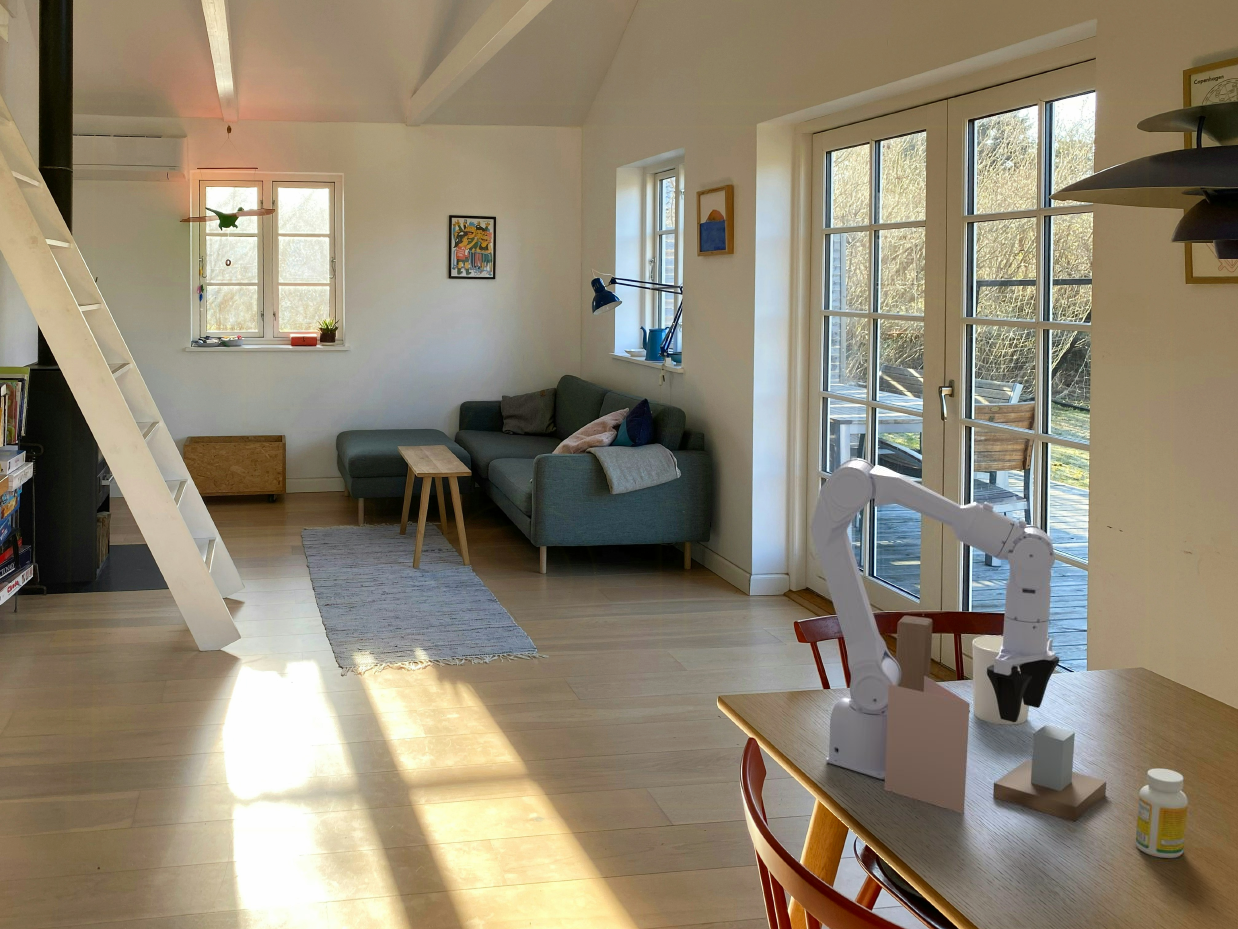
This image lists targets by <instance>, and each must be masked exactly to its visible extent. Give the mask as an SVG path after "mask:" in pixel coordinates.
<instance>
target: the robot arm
mask: <svg viewBox="0 0 1238 929" xmlns="http://www.w3.org/2000/svg"><path fill="white" fill-rule="evenodd" d="M872 499H874V502H873V507H875V508H877V507H883V506H889V505H891V506H892V505H899V506H902V507H904V508H906V509H909V510H912V511H914V512H915V513H918V514H920V515H922V516H925V517H928V518H929V519H932V520H934V521H937V522H939V523H942V524H944V525H946V526H949V527H951V529H952V531H953V534H954V538H955V539H956V540H957V541H958V542H961V543H962V544H963V543H964V544H965V545H968V546H969V547H971V548H974V549H976V550H978V551H980V552H982V553H983V554H984V553H985V554H986V555H988V556H990V557H993V558H996V559H997V560H999V561H1000V560H1001V561H1002V560H1003V561H1007V562H1008V564H1009V575H1008V576H1009V577H1008V579H1007V581H1006V587H1005V603H1004V617H1003V618H1004V621H1003V633H1002V636H1003V644H1002V645H1001V648H1000V652H999V655H998V657H996V658H995V663H994V665H991V666H989V667H987V676H988V677H989V679H990V681H991V683H992V685H993V688H994V691H995V694H996V698H997V703H998V709H999V714H1000V718H1001V719H1003V720H1007V721H1011V722H1016V721H1017V720H1018V717H1019V713H1020V708H1021V703H1022V698H1023V702H1024V705H1028V706H1029V707H1033V708H1036V709H1039V708H1041V704H1042V702H1043V700H1044V698H1045V697H1044V696H1045V692H1046V689H1047V687H1048V683H1049V681H1050V678H1051V676H1052V674H1053V673H1054V672H1055V669H1056V668H1057V667H1058V665H1059V664H1060V657H1059V656H1056V652H1054V651H1053V642H1054V641H1053V638H1051V637H1048V636H1049V623H1050V609H1051V594H1052V586H1051V583H1050V582H1051V580H1052V571H1051V570H1052V568H1053V567H1054V565H1055V561H1056V557H1055V552H1054V545H1053V541H1052V539H1051V538H1050V536H1049V534H1047V533H1046V531H1044V530H1042V529H1041V528H1040V527H1039V526H1037V525H1034V524H1027V523H1028V522H1027V521H1025V520H1023V519H1021V518H1020V519H1019V520H1018V521H1017V520H1015V519H1013V518H1010V517H1009V516H1007V515H1004V514H1002V513H999V512H998V511H996V510H993V509H994V505H993V504H991V503H990V502H987V501H984V503H983V504H981V503H978V502H977V501H974V502H971V503H968V504H964V505H962V504H959V503H957V502H956V501H953V500H951V499H949V498H947V497H945V496H944V495H941V494H939V493H937V492H936V491H933V490H931V489H929V488H928V487H925V485H922V484H920V483H918V482H916V481H914V480H912V479H910V478H909V477H907V476H904V475H902V474H901V473H898V472H896V471H894V470H892V469H890V468H887V467H885V466H882V465H878V464H876V465H873V464H872V463H871V462H870V461H868V460H865V459H863V458H851V459H847V460H846V461H844V462H843V463H841V465H839V466H838V468H837V469H835V471H833V472H832V473H831V474H830V475H829V476H828V478H827V479H826V481H825V482H824V483H823V485H822V486H821V488H819V494H818V499H817V502H816V505H815V509H814V511H813V512H814V513H813V517H812V520H811V522H810V527H809V528H810V535H811V538H812V541H813V544H814V548H815V550H816V554H817V556H818V560H819V562H820V567H821V570H822V572H823V576H824V579H825V583H826V585H827V588H828V592H829V595H830V598H831V601H832V604H833V607H834V611H835V614H836V616H837V620H838V622H839V623H838V624H839V627H840V629H841V632H842V636H843V640H844V641H845V645H846V652H847V653H846V654H847V664H848V665H847V666H848V669H849V673H850V683H849V694H850V697H842V698H840V699H838V700H837V701H836V703H834V706H833V708H832V711H831V715H830V720H829V742H828V743H829V746H828V749H829V750H828V757H826V759H825V762H826V763H828V764H832V765H835V766H839V767H842V768H845V769H846V770H847V769H848V770H851V771H854V772H857V773H860V774H864V775H867V776H870V777H874V778H877V779H880V780H885V764H886V739H887V715H888V691H889V684H891V685H895V686H898V684H899V682H900V679H901V669H900V666H899V664H898V662H897V661H896V658H894V656H892V655H891V653H890V650H888V647H887V644H886V641H885V640H884V639H883V636H882V635H881V634H880V632H879V629H878V626H877V622H876V619H875V615H874V612H873V610H872V606H871V602H870V599H869V596H868V594H867V591H866V588H865V583H864V582H863V578H862V574H861V571H860V568H859V565H858V562H857V559H856V556H855V552H854V550H853V547H852V543H851V540H850V536H849V533H848V529H849V527H850V525H851V523H853V520H854V519H855V517H856V515H857V514H858V513H859V512H860V511H862V510H863V509H864V508H865V507H866V506H867V505H868V504H869V503H870V500H872ZM1018 666H1019V668H1020V671H1018Z"/></svg>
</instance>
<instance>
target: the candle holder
mask: <svg viewBox="0 0 1238 929" xmlns="http://www.w3.org/2000/svg"><path fill="white" fill-rule="evenodd" d="M971 643H972V645H971V646H972V697H973V698H972V701H973V702H972V706H973V708H972V709H973V714H974V716H975V717H976V718H978V720H979V719H980V720H981V721H984V722H987V723H991V724H996V725H1001V726H1002V725H1004V726H1013V725H1020V724H1023V723H1026V721H1027V719H1028V717H1029V712H1030V711H1029V710H1030V706H1028V705H1024V702H1023V698H1022V703H1021V708H1020V713H1019V717H1018V720H1017V721H1016V722H1011V721H1007V720H1003V719H1001V718H1000V714H999V709H998V703H997V698H996V694H995V691H994V688H993V685H992V683H991V681H990V679H989V677H988V676H987V667H989V666H991V665H994V663H995V658H996V657H998V655H999V652H1000V648H1001V645H1002V644H1003V635H982V636H978V637H975V638H974V639H972V642H971ZM1018 671H1020V668H1019V666H1018Z"/></svg>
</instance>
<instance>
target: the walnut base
mask: <svg viewBox="0 0 1238 929" xmlns="http://www.w3.org/2000/svg"><path fill="white" fill-rule="evenodd" d="M1031 770H1032V759H1031V760H1030V759H1026V760H1024V761H1023V762H1021V763H1020V764H1019V765H1017V766H1016V767H1014V768H1013V769H1011V770H1010V771H1009V772H1008V773H1006V774H1005V775H1003V776H1001V778H999V779H998V780H995V782H993V791H992V792H993V793H992V794H993V795H992V796H993V798H995V799H998V800H1002V801H1005V802H1008V803H1011V804H1015V805H1018V806H1022V807H1025V808H1028V809H1032V810H1034V811H1039V812H1042V813H1045V814H1049V815H1051V816H1055V817H1059V818H1062V819H1065V820H1068V821H1072V822H1076V821H1077V820H1079V819H1080V818H1081V817H1082V816H1083V815H1084V814H1085V813H1086V812H1088V811H1089V810H1090V809H1092V807H1094V806H1095V805H1096V804H1097V803H1098V802H1099V801H1101V800H1102V799H1103V798H1104V797H1105V796H1106V793H1107V792H1106V791H1107V781H1106V780H1103V779H1099V778H1096V777H1092V776H1089V775H1085V774H1081V773H1078V772H1074V771H1072V782H1071V783H1070V784H1068V785H1067V786H1066V787H1065V788H1064V789H1062V790H1061V791H1058V790H1055V789H1051V788H1048V787H1044V786H1041V785H1037V784H1034V783H1031Z"/></svg>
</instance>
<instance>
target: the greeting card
mask: <svg viewBox="0 0 1238 929" xmlns="http://www.w3.org/2000/svg"><path fill="white" fill-rule="evenodd" d="M970 704H971V703H970V702H968V701H967V700H966V699H964V698H962V697H960V696H959V695H957V694H955V693H953V692H952V691H951V690H949V689H947V688H945V687H944V686H942V685H941V684H939V683H937V682H936V681H934V680H933V679H931V678H930V679H929V678H928V677H926V676H924V692H920V691H916V690H912V689H908V688H903V687H899V686H895V685H891V684H889V691H888V715H887V739H886V764H885V779H884V789H886V791H888V792H891V791H892V792H891V793H894V792H895V794H897V793H898V795H901V794H902V795H901V796H905V797H907V798H911V799H914V800H918V801H922V802H923V803H927V804H931V805H935V806H938V807H940V808H944V809H948V810H951V811H954V812H957V813H960V814H965V801H966V784H967V783H966V782H967V781H966V780H967V763H968V762H967V761H968V760H967V759H968V743H969V741H968V740H969V722H970V712H971V710H970V708H971V707H970Z"/></svg>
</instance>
